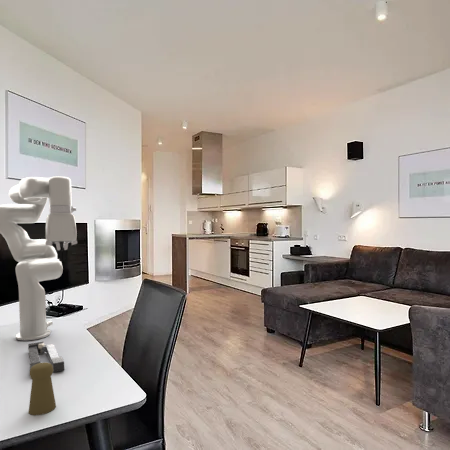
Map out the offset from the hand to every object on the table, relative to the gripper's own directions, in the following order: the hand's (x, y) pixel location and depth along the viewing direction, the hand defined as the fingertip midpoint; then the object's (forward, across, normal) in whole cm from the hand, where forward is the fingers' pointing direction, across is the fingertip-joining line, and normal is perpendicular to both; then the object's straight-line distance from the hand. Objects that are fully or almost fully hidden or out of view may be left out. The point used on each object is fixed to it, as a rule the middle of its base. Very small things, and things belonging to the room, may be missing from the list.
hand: (62, 260), depth 133 cm
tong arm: (+32, +6, +11) cm, 34 cm away
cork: (+32, +11, +44) cm, 56 cm away
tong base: (+32, +9, +10) cm, 35 cm away
